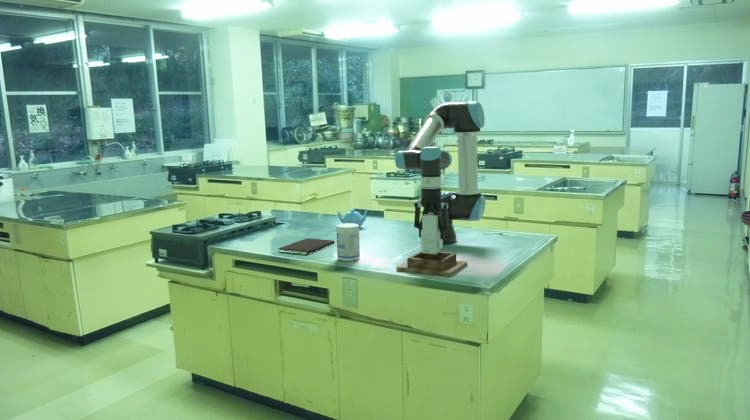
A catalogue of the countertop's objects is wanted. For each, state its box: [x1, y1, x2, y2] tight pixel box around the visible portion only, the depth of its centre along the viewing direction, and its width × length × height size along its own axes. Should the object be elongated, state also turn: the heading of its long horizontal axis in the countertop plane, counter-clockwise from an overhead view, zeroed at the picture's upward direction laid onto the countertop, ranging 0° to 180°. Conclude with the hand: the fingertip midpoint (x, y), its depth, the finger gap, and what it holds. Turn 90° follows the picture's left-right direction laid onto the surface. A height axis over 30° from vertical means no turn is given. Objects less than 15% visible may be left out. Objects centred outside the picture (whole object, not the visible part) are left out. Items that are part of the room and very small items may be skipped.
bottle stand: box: [396, 249, 468, 278], centre depth 211 cm, size 22×18×5 cm
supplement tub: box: [336, 223, 361, 262], centre depth 228 cm, size 10×10×15 cm
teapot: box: [335, 207, 369, 228], centre depth 296 cm, size 13×13×10 cm
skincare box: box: [421, 213, 442, 254], centre depth 209 cm, size 8×6×15 cm
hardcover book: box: [278, 238, 336, 255], centre depth 252 cm, size 16×23×2 cm
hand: (431, 246), depth 210 cm, fingers closed on skincare box, 6 cm apart
